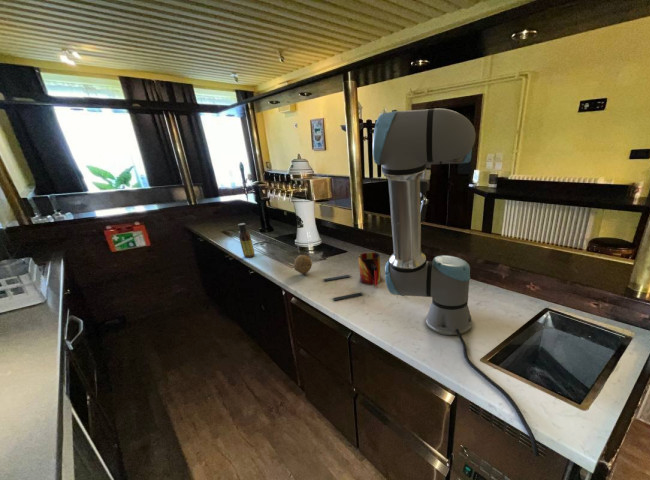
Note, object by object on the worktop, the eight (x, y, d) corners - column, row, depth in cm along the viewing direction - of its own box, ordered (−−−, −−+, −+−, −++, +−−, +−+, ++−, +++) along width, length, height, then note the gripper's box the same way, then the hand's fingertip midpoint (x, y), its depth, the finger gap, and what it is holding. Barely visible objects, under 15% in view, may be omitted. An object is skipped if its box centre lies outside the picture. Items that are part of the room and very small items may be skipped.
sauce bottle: (246, 255, 185) (238, 222, 177) (256, 254, 186) (248, 222, 177) (242, 258, 179) (234, 225, 171) (253, 257, 180) (245, 224, 172)
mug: (376, 288, 132) (375, 263, 127) (356, 280, 141) (354, 256, 136) (391, 281, 139) (390, 257, 134) (371, 274, 148) (369, 251, 143)
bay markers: (362, 295, 127) (362, 294, 127) (334, 301, 123) (334, 300, 123) (348, 275, 148) (348, 274, 148) (324, 279, 144) (324, 279, 144)
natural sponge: (314, 275, 150) (311, 256, 145) (296, 278, 147) (292, 259, 143) (312, 269, 157) (309, 251, 153) (294, 272, 155) (291, 254, 150)
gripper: (436, 181, 120) (431, 240, 128) (420, 180, 131) (416, 234, 139) (420, 181, 117) (415, 241, 126) (405, 179, 128) (402, 234, 137)
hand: (416, 237), depth 133 cm, fingers closed
